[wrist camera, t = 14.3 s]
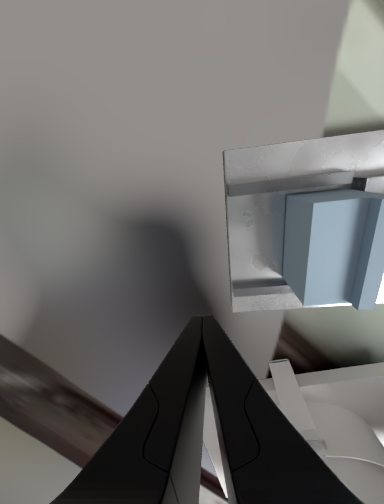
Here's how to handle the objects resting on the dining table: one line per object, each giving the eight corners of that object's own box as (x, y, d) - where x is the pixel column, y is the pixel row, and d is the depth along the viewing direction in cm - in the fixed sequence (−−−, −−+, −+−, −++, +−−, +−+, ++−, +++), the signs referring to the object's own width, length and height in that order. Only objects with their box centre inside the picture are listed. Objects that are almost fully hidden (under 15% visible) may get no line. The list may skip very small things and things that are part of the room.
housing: (330, 273, 18) (374, 309, 13) (282, 277, 18) (309, 313, 14) (343, 188, 15) (403, 197, 11) (286, 194, 15) (321, 205, 11)
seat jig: (473, 288, 19) (519, 308, 16) (231, 305, 21) (235, 326, 18) (553, 108, 14) (641, 93, 11) (222, 151, 16) (227, 148, 13)
